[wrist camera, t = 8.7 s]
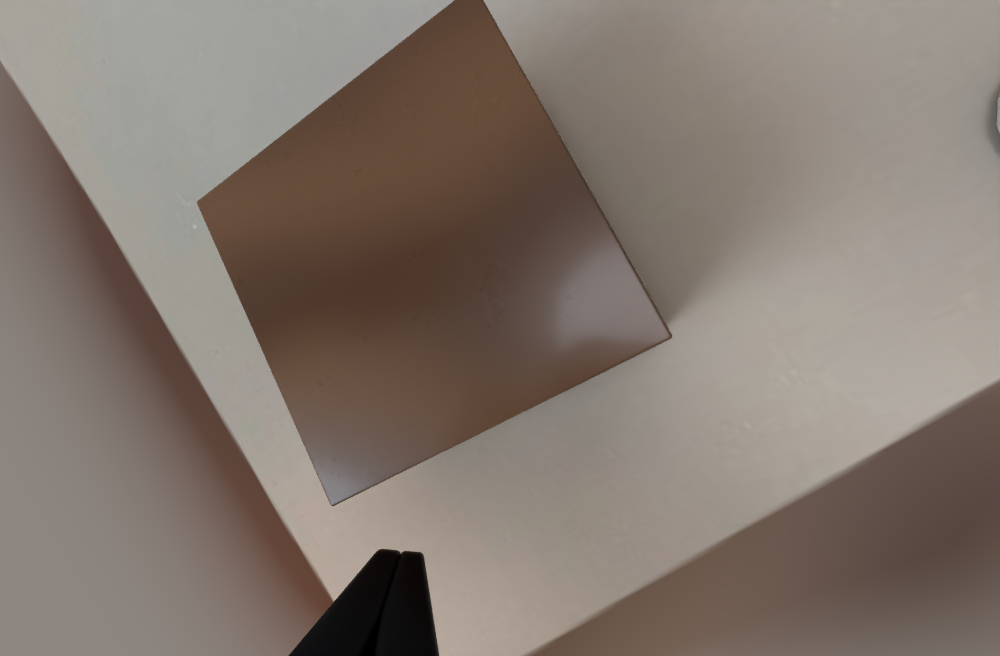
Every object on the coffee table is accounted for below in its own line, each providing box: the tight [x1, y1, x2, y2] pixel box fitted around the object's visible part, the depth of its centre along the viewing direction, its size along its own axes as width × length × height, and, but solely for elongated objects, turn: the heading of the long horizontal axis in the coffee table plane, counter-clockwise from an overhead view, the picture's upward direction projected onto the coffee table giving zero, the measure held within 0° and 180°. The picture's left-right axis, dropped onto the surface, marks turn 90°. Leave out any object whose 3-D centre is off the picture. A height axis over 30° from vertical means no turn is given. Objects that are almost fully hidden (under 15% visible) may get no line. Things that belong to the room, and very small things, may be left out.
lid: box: [197, 0, 672, 506], centre depth 16 cm, size 12×12×1 cm
